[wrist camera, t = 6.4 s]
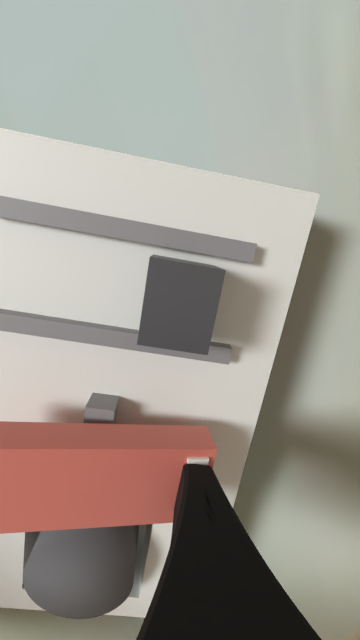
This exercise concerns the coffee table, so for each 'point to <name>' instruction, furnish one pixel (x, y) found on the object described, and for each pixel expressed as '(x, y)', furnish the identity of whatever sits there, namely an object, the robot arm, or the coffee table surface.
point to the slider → (180, 304)
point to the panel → (135, 308)
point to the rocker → (94, 473)
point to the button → (82, 570)
